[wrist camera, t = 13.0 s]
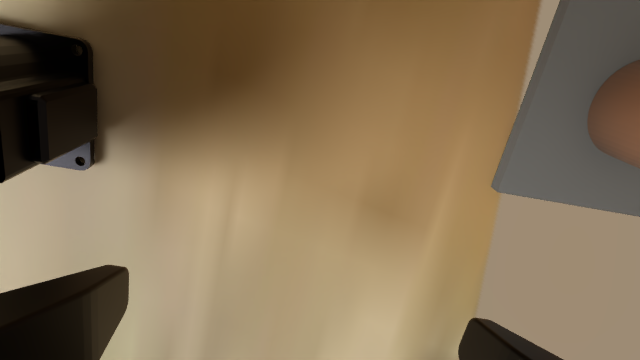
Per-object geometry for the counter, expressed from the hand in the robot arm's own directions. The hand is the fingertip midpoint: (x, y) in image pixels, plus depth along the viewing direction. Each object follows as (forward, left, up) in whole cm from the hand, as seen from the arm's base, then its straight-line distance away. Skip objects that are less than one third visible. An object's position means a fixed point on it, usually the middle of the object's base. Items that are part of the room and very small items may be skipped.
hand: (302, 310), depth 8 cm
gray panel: (+16, +5, -13) cm, 21 cm away
